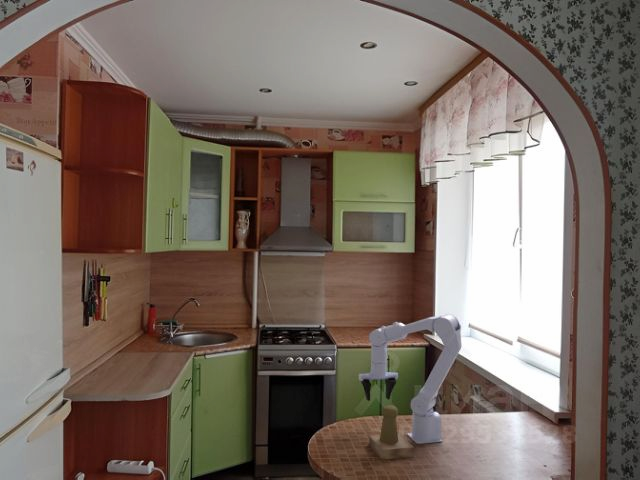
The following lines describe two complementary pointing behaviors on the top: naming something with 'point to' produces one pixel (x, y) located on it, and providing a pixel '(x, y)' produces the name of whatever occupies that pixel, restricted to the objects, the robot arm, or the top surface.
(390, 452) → the walnut block
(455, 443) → the top surface
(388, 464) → the top surface
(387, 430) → the cork
